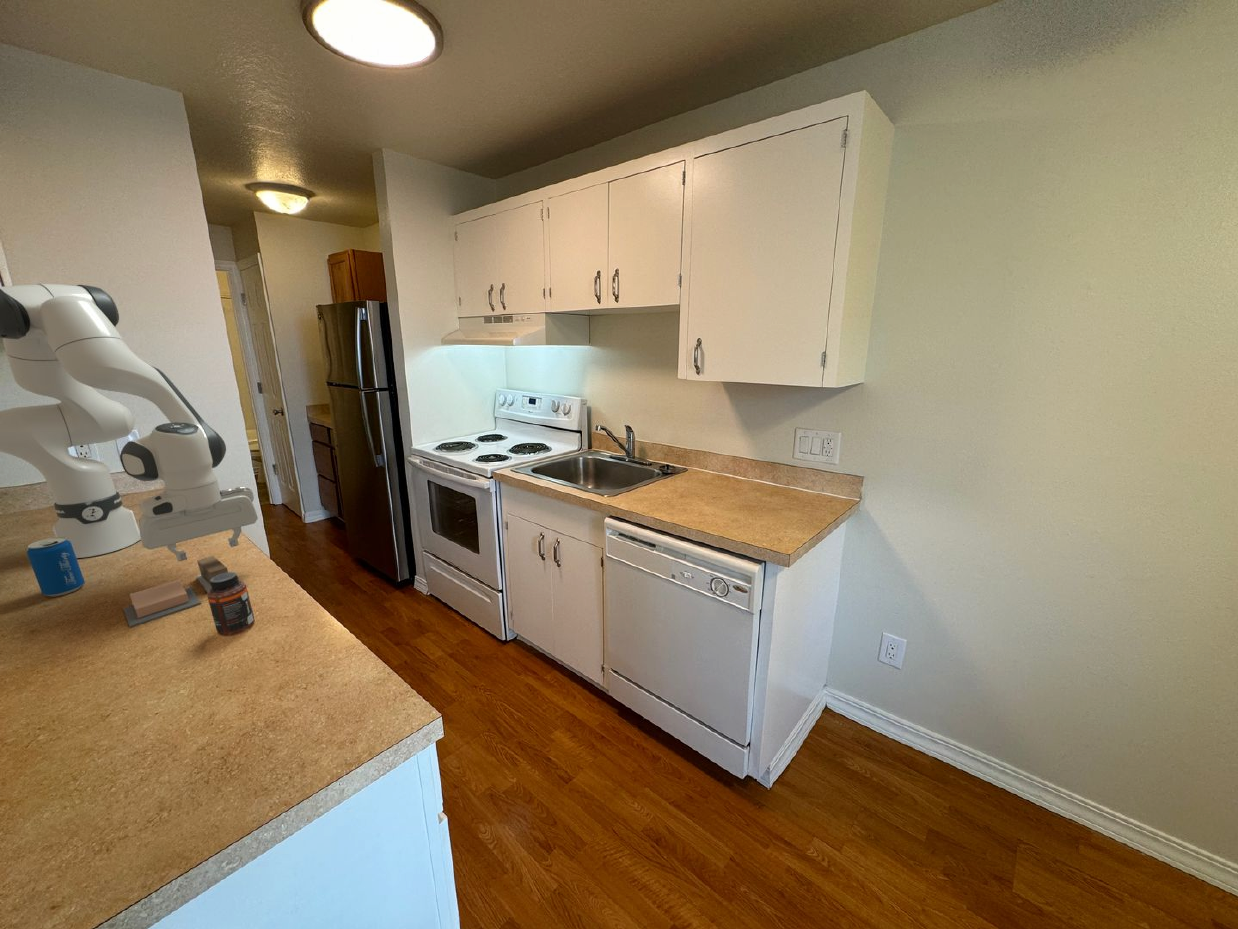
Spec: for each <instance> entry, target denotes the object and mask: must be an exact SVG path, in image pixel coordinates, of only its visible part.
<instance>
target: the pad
mask: <svg viewBox="0 0 1238 929" xmlns="http://www.w3.org/2000/svg"><path fill="white" fill-rule="evenodd" d="M196 578H197V581H199V583H200V584H201V586H202V587H203V588H204V590H205V591H206V592H207V593H208V592H209V590H210V589H211V588H212V587H211V585H210V584H209V583H208V582H207V581H206V580H205V579H204V578H203V577H202V576H201V573H200V574H197V575H196Z"/></svg>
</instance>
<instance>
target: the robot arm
mask: <svg viewBox="0 0 1238 929" xmlns="http://www.w3.org/2000/svg"><path fill="white" fill-rule="evenodd" d="M119 322H120V314H119V310H118V307H117V305H116V303H115V301H114V299H113V298H112V296H110V294H109V293H107V291H105V290H104V289H102V288H100V287H96V286H91V285H87V284H86V285H84V284H77V285H70V284H61V283H60V284H57V283H36V284H18V285H16V284H15V285H5V286H0V339H2V342H3V347H4V350H5V354H6V357H7V360H8V363H9V367H10V370H11V373H12V375H13V376H12V377H13V379H14V382H15V383H16V384H17V385H18V386H19V387H20V388H22V389H24V390H26V391H27V392H30V393H32V394H36V395H39V396H44V397H48V398H52V399H56V400H58V401H60V402H58V403H55V404H53V403H51V404H43V405H42V404H41V405H32V406H31V405H30V406H21V407H19V406H18V407H12V408H8V409H2V410H0V452H1V453H4V454H8V455H11V456H14V457H16V458H19V459H20V460H21V459H22V460H23V461H25V462H27V463H29V464H30V465H32V466H33V467H34V468H35V469H37V470H38V471H39V472H40V473H41V475H42V476H43V478H44V479H45V481H46V483H47V485H48V487H49V489H50V491H51V494H52V497H53V499H54V503H53V506H54V509H53V510H54V512H55V513H56V516H57V518H58V520H57V522H56V523H54V525H53V526H52V528H51V530H52V533H53V535H54V537H66V538H67V539H66V540H68V541H70V542H71V544H72V547H73V550H74V553H75V556H76V558H77V559H79V558H80V559H82V558H90V557H95V556H100V555H105V554H109V553H112V552H115V551H118V550H121V549H125V548H128V547H130V546H132V545H134V544H135V543H137V542H138V541H141V544H142V546H143V548H145V549H147V550H151V551H152V550H154V549H158V548H162V547H163V548H164V547H166V548H167V550H168V551H169V552H171V553H173V554H174V555H175V557H176V559H177V562H179V563H180V562H183V561H186V560H187V559H188V557H187V553H186V552H185V550H178V549H176V548H177V544H178V543H182V542H183V543H184V542H188V541H190V540H194V539H198V538H202V537H203V538H204V537H205V536H206V537H207V536H210V535H215V534H217V533H218V534H219V533H223V532H225V531H230V530H231V531H233V534H232V536H231V537H230V538H229V537H228V538H227V540H228V541H227V542H228V545H229V547H230V548H233V547H236V546H239V545H240V544H239V538H240V535H241V534H242V527H245V526H249V525H253V524H255V523H256V522H257V521H258V519H259V518H258V512H257V511H256V509H255V506H254V504H253V501H254V499H255V498H254V496H255V495H254V493H253V491H252V489H250V488H249V487H244V486H238V487H235V488H228V489H227V488H226V489H222V490H220V486H219V482H218V478H217V476H216V474H215V473H214V470H213V469H215V468H216V467H218V466H220V464H221V462H222V461H223V459H224V458H225V456H226V452H227V445H226V443H225V441H224V439H223V438H222V436H220V434H219V433H218V432H217V431H216V430H215V429H213V428H212V427H211V426H210V425H209V424H208V423H207V422H206V421H205V420H204V418H202V417H201V415H200V414H199V413H198V412H197V411H196V409H195V408H194V407H193V406H192V405H191V403H190V401H188V399H186V397H185V396H184V395H183V394H182V393H181V391H180V390H179V389H178V388H177V386H176V385H175V384H174V383H173V382H172V380H171V379H170V378H169V377H168V376H167V375H166V374H165V373H164V372H163V371H161V369H159V368H157V367H155V366H153V365H149V363H147V362H145V361H144V360H142V359H141V358H140V357H139V356H137V355H136V353H135V352H133V351H132V350H131V348H130V347H129V346H128V344H126V342H125V340H124V338H123V337H122V335H121V334H120V333H119V331H118V329H117V328H116V327H117V325H118V324H119ZM96 389H98V390H102V391H107V392H115V393H122V394H128V395H133V396H135V397H139V398H143V399H145V400H148V401H149V402H151V403H153V404H154V405H156V407H157V408H158V409H159V410H160V411H161V413H162V414H163V415H164V416H165V417H166V418H167V420H168V421H169V422H167V423H162V424H159V425H156V426H155V427H154V428H153V429H152V430H151V433H149V434H146V435H145V436H142V437H139V438H135V439H133V440H129V441H127V443H125V444H124V446H123V447H122V449H121V450H120V454H119V455H120V456H119V458H120V463H121V466H122V468H123V470H124V471H125V474H127V475H128V476H130V477H131V478H133V479H136V480H140V481H143V482H152V481H155V482H156V481H159V480H160V481H163V482H164V490H165V491H163V492H160V493H158V494H156V495H154V496H151V497H149V498H147V499H144V500H142V501H141V502H140V504H139V507H140V510H141V513H142V514H141V515H140V517H139V520H138V523H137V520H136V517H135V515H134V512H133V510H130V509H129V508H126V507H124V506H123V502H122V497H121V495H120V492H118V491H117V490H116V486H115V483H114V480H113V477H112V473H111V470H110V468H109V467H108V465H107V464H105V463H103V462H101V461H99V460H96V459H92V458H86V457H79V456H75V455H71V454H70V453H68V451H67V450H68V449H69V448H72V447H79V446H80V447H81V446H86V445H93V444H101V443H107V442H111V441H115V440H119V439H122V438H126V437H128V436H129V435H131V433H132V432H133V430H134V427H135V418H134V415H133V413H132V412H131V410H130V408H128V407H127V406H126V405H124V404H122V403H121V402H118V401H116V400H113V399H110V398H109V397H106V396H105V395H103V394H101V393H99V392H98V391H97V390H96Z"/></svg>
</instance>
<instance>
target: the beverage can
mask: <svg viewBox="0 0 1238 929" xmlns="http://www.w3.org/2000/svg"><path fill="white" fill-rule="evenodd" d="M66 539H67V538H66V537H55V536H54V537H49V538H44V539H41V540H38V541H37V540H36V541H35V542H32V543H30V544H28V545H27V548H28V549H27V551H26V554H27V557H28V560H29V561H30V564H31V567H32V570H33V572H34V575H35V578H36V580H37V583H38V586H39V589H40V591H41V594H42V595H43V596H48V597H53V598H54V597H59V596H60V597H61V596H64V595H69V594H71V593H74V592H76V591H78V590H79V589H81V587H82V586H84V584H85V583H86V582H85V579H84V576H83V574H82V570H81V567H80V564H79V562H78V558H76V556H75V553H74V550H73V547H72V544H71V542H70V541H68V540H66Z"/></svg>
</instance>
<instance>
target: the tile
mask: <svg viewBox="0 0 1238 929" xmlns="http://www.w3.org/2000/svg"><path fill="white" fill-rule="evenodd" d="M185 589H186V588H185V587H184V586H183V584H182V583H181V581H180V579H177V580H173V581H169V582H166V583H163V584H159V585H156V586H153V587H149V588H146V589H143V590H139V591H136V592H132V593H129V596H130V600H131V603H132V605H133V606H134V609H135V611H136V614H137V617H138V618H140V617H143V616H146V615H149V614H152V613H155V612H159V611H162V610H165V609H168V608H171V607H174V606H177V605H180V604H183V603H186V602H189V599H188V595H187V592H186V591H185Z"/></svg>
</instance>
